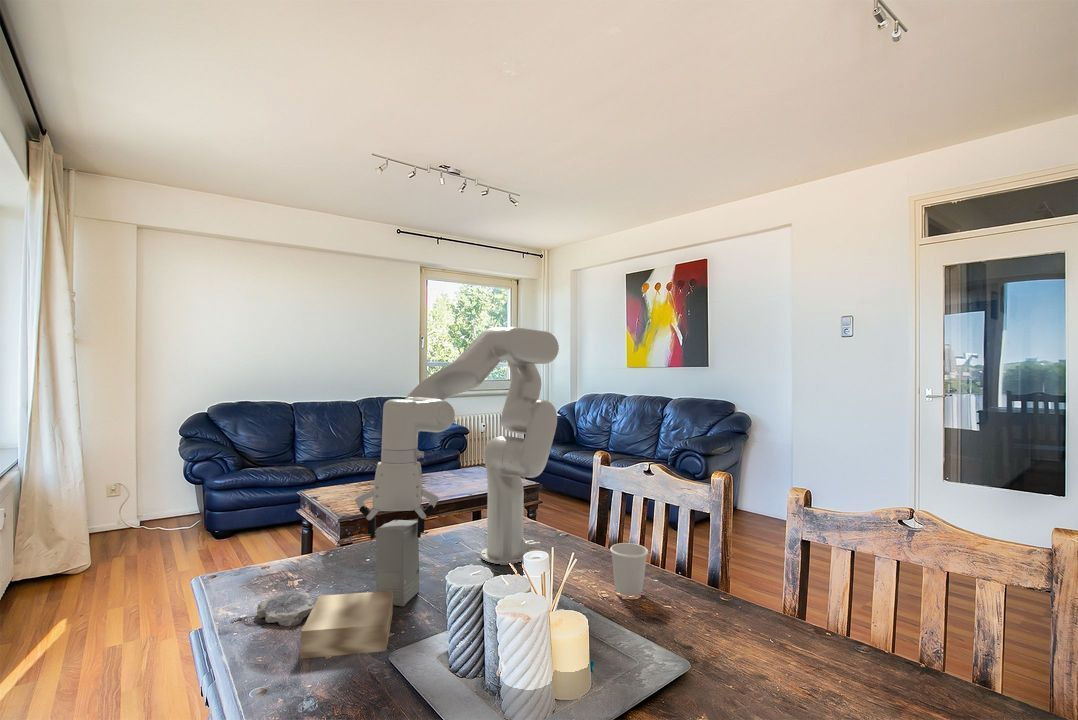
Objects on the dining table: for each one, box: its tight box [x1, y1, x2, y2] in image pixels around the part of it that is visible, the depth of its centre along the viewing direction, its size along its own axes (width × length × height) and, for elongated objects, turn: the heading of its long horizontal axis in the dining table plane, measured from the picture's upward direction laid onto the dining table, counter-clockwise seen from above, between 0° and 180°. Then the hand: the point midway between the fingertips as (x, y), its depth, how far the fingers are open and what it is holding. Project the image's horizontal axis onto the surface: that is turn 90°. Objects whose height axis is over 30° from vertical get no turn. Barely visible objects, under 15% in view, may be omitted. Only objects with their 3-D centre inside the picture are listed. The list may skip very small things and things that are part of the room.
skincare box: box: [375, 519, 420, 607], centre depth 112 cm, size 8×7×16 cm
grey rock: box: [256, 591, 315, 627], centre depth 104 cm, size 11×4×10 cm
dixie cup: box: [609, 542, 649, 596], centre depth 115 cm, size 8×8×10 cm
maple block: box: [300, 591, 394, 660], centre depth 96 cm, size 14×14×5 cm
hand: (396, 536), depth 112 cm, fingers open, 9 cm apart
